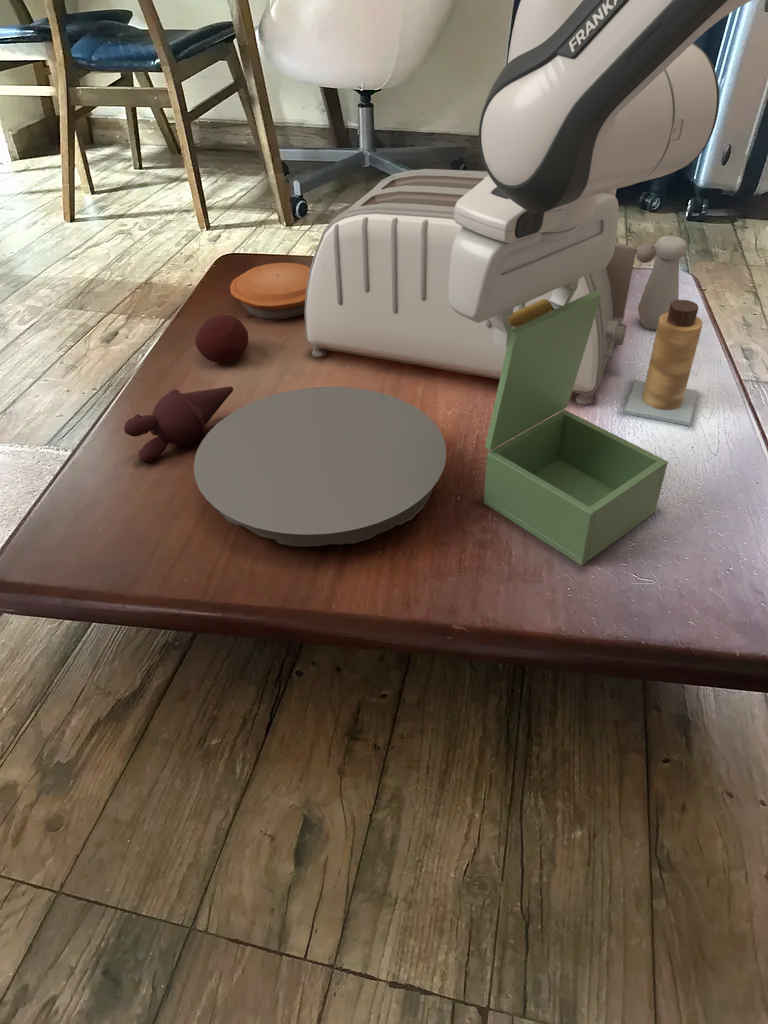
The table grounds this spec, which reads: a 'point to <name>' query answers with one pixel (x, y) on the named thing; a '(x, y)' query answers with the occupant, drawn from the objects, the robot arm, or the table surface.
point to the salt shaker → (662, 281)
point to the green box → (573, 484)
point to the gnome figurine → (176, 419)
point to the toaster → (431, 284)
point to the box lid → (540, 365)
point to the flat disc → (321, 465)
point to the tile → (674, 416)
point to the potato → (222, 338)
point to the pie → (273, 290)
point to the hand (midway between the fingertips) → (529, 332)
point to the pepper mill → (672, 356)
